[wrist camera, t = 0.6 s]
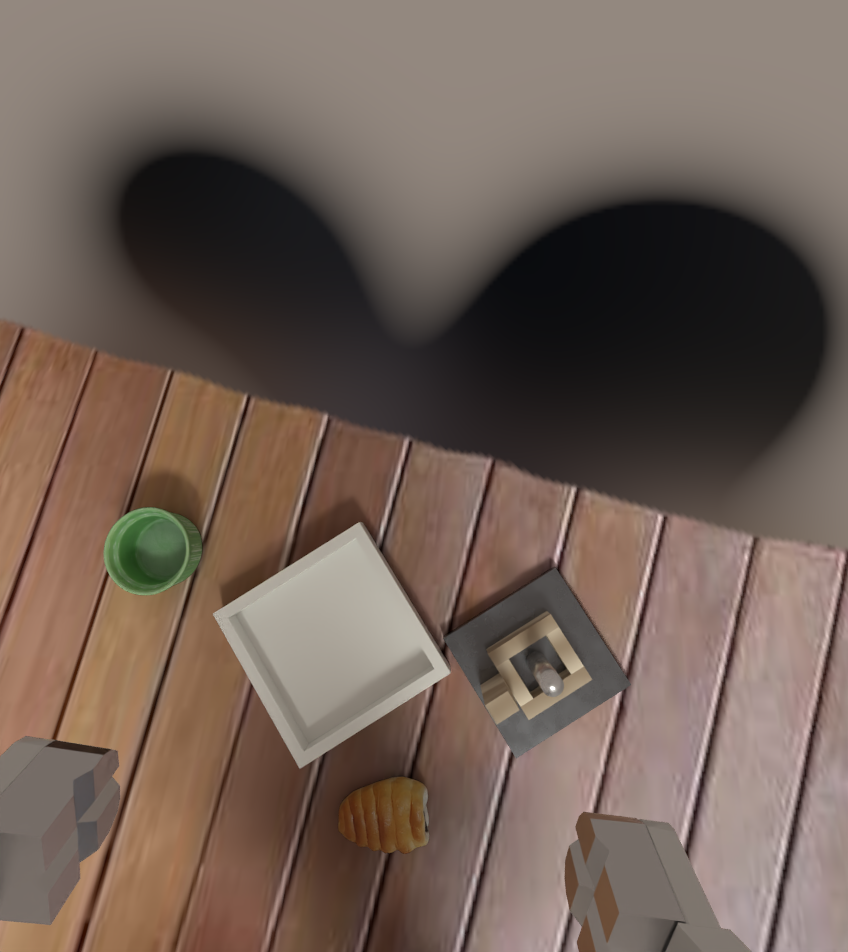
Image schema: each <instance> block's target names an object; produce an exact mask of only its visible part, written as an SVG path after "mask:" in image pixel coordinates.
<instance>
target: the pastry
mask: <svg viewBox="0 0 848 952" xmlns="http://www.w3.org/2000/svg"><path fill="white" fill-rule="evenodd" d="M427 800H428V793H427V789H426V787H425V785H424V784H423V783H421V782H419V781H417V780H413V779H410V778H407V777H392V778H389V779H384V780H382V781H378V782H375V783H373V784H370V785H368V786H365V787H363V788H360V789H358V790H355V791H353V792H352V793H351V794H350V795H349V796H347V797H346V798H345V799H344V801H343V802H342V803H341V805H340V808H339V815H338V817H339V821H338V830H339V832H340V833H341V834H343V835H344V837H345V838H346V839H348V840H350V841H353V842H355V843H356V844H357V845H358V846H359V847H369V848H370V849H371V850H372V851H377V850H381V851H383V852H384V853H392V852H394V851H395V850H399V851H400V852H401V853H403V854H407V853H410V852H411V851H412V850H413V849H415V848H417V847H421V846H425V845H426V844H427V843H428V841H429V831H428V827H427V826H428V824H429V816H428V811H427V806H426V803H427Z"/></svg>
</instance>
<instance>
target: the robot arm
mask: <svg viewBox="0 0 848 952" xmlns="http://www.w3.org/2000/svg"><path fill="white" fill-rule="evenodd" d="M118 767H119V760H118V751H116V750H112V749H106V748H100V747H94V746H88V745H82V744H76V743H69V742H63V741H57V740H49V739H43V738H36V737H30V736H25V737H23V738H22V739H20V740H18V741H16V742H14V743H13V744H12V745H11V746H10V747H9V748H8V749H7V750H6V751H5V752H4V753H3V754H2V755H1V756H0V920H2V921H13V922H24V923H35V924H46V925H51V924H52V922H53V920H54V919H55V917H56V916H57V914H58V913H59V911H60V909H61V908H62V906H63V905H64V903H65V901H66V900H67V898H68V897H69V895H70V894H71V892H72V890H73V889H74V887H75V886H76V884H77V883H78V881H79V879H80V862H81V861H83V860H84V859H86V858H87V857H88V856H90V855H91V854H93V853H94V852H96V851H97V850H98V849H99V848H100V846H101V844H102V843H103V841H104V839H105V838H106V836H107V834H108V833H109V831H110V828H111V826H112V824H113V821H114V819H115V816H116V814H117V811H118V806H119V800H120V785H119V784H118V783H117V782H116V781H115V779H114V778H113V777H112V775H113V774H114V773H115V771H116V770H117V768H118ZM576 831H577V835H578V840H577V841H575V842H574V843H572V844H571V845H570V846H569V849H568V852H567V856H566V860H565V887H566V895H567V900H568V904H569V909H570V912H571V913H572V914H573V916H574V917H575V918H576V920H577V921H578V922H579V923H580V925H581V926H582V929H581V932H580V935H579V937H578V940H577V945H578V949H579V952H752V951H751V950H750V949H749V948H748V947H747V946H746V945H745V944H744V943H743V942H742V941H741V940H740V939H739V938H738V937H737V936H736V935H735V934H734V933H733V932H732V931H731V930H729V929H723V928H721V927H720V925H719V923H718V921H717V919H716V916H715V914H714V912H713V910H712V908H711V906H710V904H709V902H708V899H707V897H706V895H705V893H704V891H703V889H702V887H701V885H700V882H699V880H698V878H697V876H696V874H695V872H694V870H693V868H692V865H691V863H690V861H689V859H688V857H687V855H686V853H685V851H684V848H683V846H682V844H681V842H680V840H679V838H678V836H677V834H676V832H675V829H674V828H673V827H672V826H671V825H670V824H669V823H665V822H657V821H650V820H642V819H639V820H638V819H637V818H631V817H622V816H614V815H606V814H597V813H589V812H583V813H582V814H581V815H580V816H579V818H578V821H577V824H576Z"/></svg>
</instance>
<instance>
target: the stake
mask: <svg viewBox="0 0 848 952" xmlns="http://www.w3.org/2000/svg"><path fill="white" fill-rule="evenodd" d="M546 611H548V612H549V613H550V614H551V615H552V617H553V619H554V620H555V622H556V623H557V625H558V626H559V628H560V630H561V631H562V633H563V634H564V636H565V637H566V639H567V641H568V642H569V644H570V645H571V647H572V648H573V650H574V652H575V653H576V655H577V656H578V658H579V659H580V661H581V662H582V664H583V666H584V667H585V669H586V670H587V672H588V673H589V675H590V677H591V678H592V680H591V681H589V682H588V683H586V684H585V685H583V686H582V687H580V688H578V689H577V690H575V691H574V692H572V693H571V694H569V695H568V696H566V697H564V698H563V699H561V700H560V701H558V702H557V703H555V704H553V705H552V706H550V707H549V708H547V709H546V710H544V711H543V712H541V713H539V714H538V715H536V716H535V717H533V718H532V719H530V720H528V718H527V716H526V715H525V713H524V712H523V710H522V708H521V707H520V705H519V703H518V702H517V700H516V699H515V700H516V702H517V705H518V707H519V711H517V712H516V713H514V714H513V715H511V716H510V717H508V718H506V719H505V720H503V721H502V722H500V723H499V724H496V723H495V721H494V719H493V718H492V716H491V715H490V716H491V718H492V719H493V721H494V723H495V724H496V726H497V727H498V729H499V731H500V732H501V734H502V736H503V737H504V739H505V741H506V742H507V744H508V746H509V747H510V749H511V750H512V752H513V754H514V755H515V757H516V758H517V757H519V756H521V755H522V754H524V753H525V752H527V751H528V750H530V749H531V748H533V747H535V746H536V745H538V744H539V743H541V742H542V741H544V740H545V739H547V738H549V737H550V736H552V735H553V734H555V733H556V732H558V731H560V730H561V729H563V728H564V727H566V726H567V725H569V724H570V723H572V722H574V721H575V720H577V719H578V718H580V717H581V716H583V715H585V714H586V713H588V712H589V711H591V710H592V709H594V708H595V707H597V706H599V705H600V704H602V703H603V702H605V701H606V700H608V699H609V698H611V697H613V696H614V695H616V694H617V693H619V692H620V691H622V690H624V689H625V688H627V687H628V686H630V685H631V684H630V682H629V681H628V679H627V678H626V676H625V674H624V673H623V671H622V670H621V668H620V667H619V665H618V664H617V662H616V661H615V659H614V657H613V656H612V654H611V653H610V651H609V650H608V648H607V647H606V645H605V643H604V642H603V640H602V639H601V637H600V636H599V634H598V633H597V631H596V630H595V628H594V626H593V625H592V623H591V622H590V620H589V619H588V617H587V616H586V614H585V612H584V611H583V609H582V608H581V606H580V605H579V603H578V602H577V600H576V598H575V597H574V595H573V594H572V592H571V591H570V589H569V588H568V586H567V585H566V583H565V581H564V580H563V578H562V577H561V575H560V574H559V572H558V571H557V569H556V568H555V567H553V568H551V569H549V570H548V571H546V572H545V573H543V574H541V575H540V576H538V577H537V578H535V579H534V580H532V581H530V582H529V583H527V584H526V585H524V586H523V587H521V588H519V589H518V590H516V591H515V592H513V593H511V594H510V595H508V596H507V597H505V598H504V599H502V600H500V601H499V602H497V603H496V604H494V605H492V606H491V607H489V608H488V609H486V610H485V611H483V612H481V613H480V614H478V615H477V616H475V617H474V618H472V619H470V620H469V621H467V622H466V623H464V624H462V625H461V626H459V627H458V628H456V629H455V630H453V631H451V632H450V633H448V634H447V635H445V636H444V637H443V639H444V641H445V642H446V644H447V645H448V647H449V649H450V650H451V652H452V654H453V655H454V657H455V659H456V660H457V662H458V664H459V665H460V667H461V668H462V670H463V672H464V673H465V675H466V677H467V678H468V680H469V682H470V683H471V685H472V686H473V688H474V690H475V691H476V693H477V695H478V696H479V698H480V700H481V701H482V703H483V705H484V706H485V704H484V699H483V695H482V691H481V686H480V685H481V684H483V683H485V682H486V681H488V680H489V679H491V678H492V677H494V676H496V675H497V674H499V671H498V669H497V668H496V666H495V665H494V663H493V661H492V660H491V658H490V657H489V655H488V653H487V650H486V649H487V648H489V647H490V646H492V645H494V644H495V643H497V642H498V641H500V640H501V639H503V638H505V637H506V636H508V635H509V634H511V633H512V632H514V631H516V630H517V629H519V628H520V627H522V626H524V625H525V624H527V623H528V622H530V621H531V620H533V619H535V618H536V617H538V616H539V615H541V614H542V613H544V612H546ZM509 659H510V661H511V663H512V664H513V666H514V667H515V669H516V671H517V672H518V674H519V676H520V677H521V679H522V680H523V682H524V684H525V685H526V687H527V688H528V690H529V692H531V691H533V690H534V689H536V688H537V687H539V686H540V687H541V689H542V690H543V692H544V693H545V694H546V695H547V696H550V697H556V696H559V695H560V694H561V693H562V691H563V689H564V682H563V680H562V678H561V677H560V676H559V673H561V672H562V671H564V670H565V669H566V667H565V666H564V664H563V663H562V661H561V659H560V658H559V656H558V655H557V653H556V651H555V650H554V648H553V647H552V645H551V644H550V642H549V640H548V639H547V637H546V636H544V637H542V638H541V639H539V640H538V641H536V642H535V643H533V644H531V645H530V646H528V647H527V648H525V649H524V650H522V651H520V652H519V653H517V654H516V655H514V656H513V657H511V658H509ZM514 698H515V697H514ZM485 708H486V706H485ZM486 709H487V708H486ZM487 711H488V710H487ZM488 713H489V711H488ZM489 714H490V713H489Z"/></svg>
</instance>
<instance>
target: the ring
mask: <svg viewBox="0 0 848 952" xmlns="http://www.w3.org/2000/svg"><path fill="white" fill-rule="evenodd" d="M544 636H546V637H547V639H548V640H549V642H550V644H551V645H552V647H553V648H554V650H555V651H556V653H557V655H558V656H559V658H560V659H561V661H562V663H563V664H564V666H565V667H566V669H565V670H564V671H562V672H561V673H559V676H560V677H561V678H562V680H563V682H564V689H563V691H562V693H561V694H560V695H559V696H556V697H550V696H547V695H546V694H545V693H544V692H543V690H542V689H541V687H540V686H539V687H537V688H536V689H534V690H533V691H531V692H529V690H528V688H527V687H526V685H525V684H524V682H523V680H522V679H521V677H520V676H519V674H518V672H517V671H516V669H515V667H514V666H513V664H512V663H511V661H510V659H509V658H511V657H513V656H514V655H516V654H517V653H519V652H520V651H522V650H524V649H525V648H527V647H528V646H530V645H531V644H533V643H535V642H536V641H538V640H539V639H541V638H542V637H544ZM486 650H487V653H488V655H489V657H490V658H491V660H492V661H493V663H494V665H495V666H496V668H497V669H498V671H499V674H497V675H496V676H494V677H492V678H491V679H489V680H488V681H486V682H485V683H483V684H481V685H480V686H481V691H482V695H483V699H484V704H485V706H486V708H487V710H488V711H489V713H490V715H491V716H492V718H493V719H494V721H495V723H496V724H499V723H500V722H502V721H503V720H505V719H506V718H508V717H510V716H511V715H513V714H514V713H516V712H517V711H519V707H518V705H517V702H518V703H519V705H520V707H521V708H522V710H523V712H524V713H525V715H526V716H527V718H528V720H530V719H532V718H533V717H535V716H536V715H538V714H539V713H541V712H543V711H544V710H546V709H547V708H549V707H550V706H552V705H553V704H555V703H557V702H558V701H560V700H561V699H563V698H564V697H566V696H568V695H569V694H571V693H572V692H574V691H575V690H577V689H578V688H580V687H582V686H583V685H585V684H586V683H588V682H589V681H591V680H592V678H591V677H590V675H589V673H588V672H587V670H586V669H585V667H584V666H583V664H582V662H581V661H580V659H579V658H578V656H577V655H576V653H575V652H574V650H573V648H572V647H571V645H570V644H569V642H568V641H567V639H566V637H565V636H564V634H563V633H562V631H561V630H560V628H559V626H558V625H557V623H556V622H555V620H554V619H553V617H552V615H551V614H550V613H549V612H548V611H546V612H544V613H542V614H541V615H539V616H538V617H536V618H535V619H533V620H531V621H530V622H528V623H527V624H525V625H524V626H522V627H520V628H519V629H517V630H516V631H514V632H512V633H511V634H509V635H508V636H506V637H505V638H503V639H501V640H500V641H498V642H497V643H495V644H494V645H492V646H490V647H489V648H487V649H486ZM514 697H515V698H514ZM515 699H516V700H517V702H516V700H515Z"/></svg>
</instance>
